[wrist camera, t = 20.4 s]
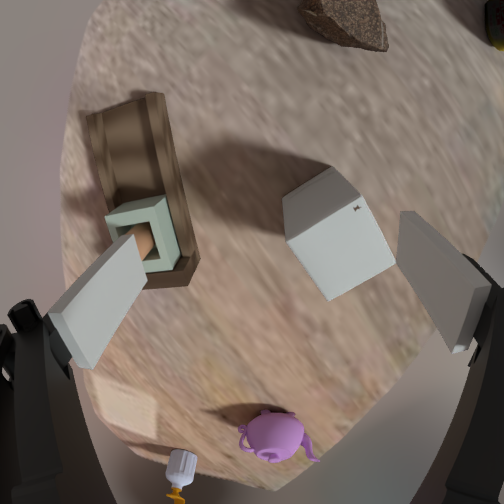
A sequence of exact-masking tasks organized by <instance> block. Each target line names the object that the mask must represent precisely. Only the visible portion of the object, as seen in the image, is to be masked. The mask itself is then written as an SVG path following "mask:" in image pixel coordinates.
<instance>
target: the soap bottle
mask: <svg viewBox="0 0 504 504" xmlns="http://www.w3.org/2000/svg"><path fill="white" fill-rule="evenodd" d="M196 462H197V456H196V455H195V454H193V453H192V452H189V451H186V450H182V449H175V450H172V451H171V455H170V458H169V462H168V466H167V470H166V477H167V479H168V480H169V481H170V482H171V483H172V487H171V489H172V490H173V493H171V494H166V495H167V496H169V497H171V498H173V499H174V500H175V503H174V504H184V503H185V500H184V499H183V498H181V497H179V496H180V495H179V494H178V492H181V490H182V486H185V485H188V484H190V483H192V481H193V477H194V472H195V467H196Z"/></svg>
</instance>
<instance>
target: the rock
mask: <svg viewBox="0 0 504 504" xmlns="http://www.w3.org/2000/svg"><path fill="white" fill-rule="evenodd" d="M297 10H298V12H299V13H300V14H301V15H302V16H303V17H304V18H305V20H306V22H307V25H308V26H309V27H310V28H311V29H313V30H315V31H316V32H318V33H320V34H322V35H323V36H324V37H325V38H327V39H329V40H331V41H333V42H335V43H337V44H338V45H340V46H343V47H354V48H362V49H365V50H370V51H375V52H377V51H379V52H387V50H388V48H389V44H388V38H387V34H386V25H385V23H384V22H383V21H382V19H381V16H380V11H379V8H378V6H377V3H376V0H303V1H302V3H301V4H300V5H299V6H298V7H297Z"/></svg>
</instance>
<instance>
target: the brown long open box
mask: <svg viewBox="0 0 504 504" xmlns="http://www.w3.org/2000/svg"><path fill="white" fill-rule="evenodd" d="M145 97H146V98H142V99H139V100H136V101H133V102H130V103H127V104H125V105H122V106H119V107H116V108H113V109H111V110H108V111H106V112H103V113H97V114H91V115H89V116H86V119H87V124H88V129H89V134H90V139H91V144H92V148H93V153H94V157H95V161H96V165H97V169H98V173H99V177H100V181H101V185H102V189H103V192H104V196H105V199H106V203H107V206H108V210H109V213H110V212H112V211H113V210H114V209H116V208H117V207H119V206H120V205H122V204H123V203H126V202H131V201H135V200H140V199H145V198H149V197H154V196H159V195H164V194H166V196H167V200H168V204H169V208H170V212H171V215H172V219H173V223H174V227H175V231H176V234H177V238H178V242H179V245H180V249H181V252H182V255H181V256H180V258H179V260H178V261H177V263H176V265H175V266H174V268H173V270H166V271H157V272H147V273H145V274H146V277H147V280H148V281H147V282H146V284H145V285H144V287H143V288H142V290H145V289H158V288H170V287H182V286H188V285H189V283H190V281H191V278H192V276H193V274H194V272H195V270H196V268H197V265H198V263H199V261H200V259H201V258H200V255H199V251H198V247H197V243H196V239H195V235H194V231H193V227H192V223H191V219H190V215H189V210H188V206H187V202H186V198H185V193H184V189H183V185H182V180H181V176H180V171H179V167H178V162H177V157H176V153H175V148H174V143H173V138H172V133H171V128H170V123H169V118H168V113H167V107H166V102H165V96H164V93H156V92H152V93H149V94H146V95H145Z"/></svg>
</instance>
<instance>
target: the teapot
mask: <svg viewBox="0 0 504 504" xmlns="http://www.w3.org/2000/svg"><path fill="white" fill-rule="evenodd" d="M260 413H261V415H259V416H257V417H256V418H254V419H253V420H252V421H250V422H249V424H248V425H247V426H246V425H240V426H239V427H238V431H239V432H240V433H243V434H242V436H241V438H240V441H239V446H240V448H241V449H242V450H243V451H245V452H254V453H255V454H256V456H257V457H259V458H260V459H263V460H267V461H268V462H271V463H277V462H280V461H281V460H286V459H288V458H290V457H291V456H292V455H293V454H294V453H295V451H296V450H297V449H298V447H299V446H300V445H302V446H303V447H304V448H305V450H306V455H307V457H308V458H309V459H310V460H312V461H316V462H319V460H318V459H317V458H316V457H315V456H314V455H313V452H312V442H311V439H310V437H309V436H308V435H307V434H306V433H304V426H303V424H302V423H301V422H300V421H299V420H298V419H296V418H295V417H294V416H295V413H294V412H287V413H271V412H270V411H269V410H261V411H260ZM241 428H243V429H244V430H241ZM245 436H246V437H247V441H248V443H249V445H250V447H251V448H247V447H245V446H244V445H243V440H244V438H245Z"/></svg>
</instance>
